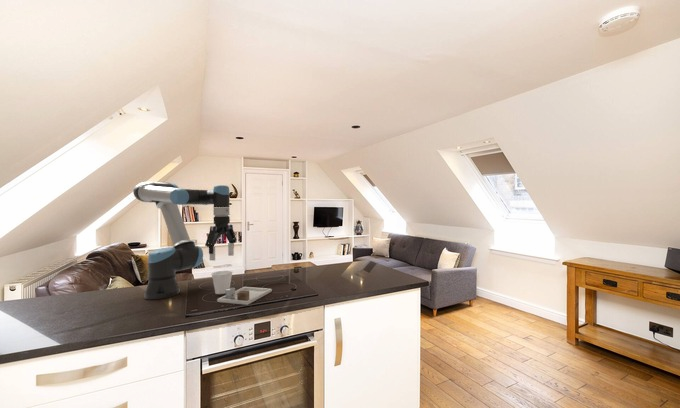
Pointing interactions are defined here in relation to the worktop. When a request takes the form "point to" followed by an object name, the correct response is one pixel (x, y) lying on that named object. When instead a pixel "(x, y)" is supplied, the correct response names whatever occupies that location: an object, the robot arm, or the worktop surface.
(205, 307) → the worktop surface
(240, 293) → the walnut block
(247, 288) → the tray
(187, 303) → the worktop surface
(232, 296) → the metal spacer
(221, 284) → the cup
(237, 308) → the worktop surface
